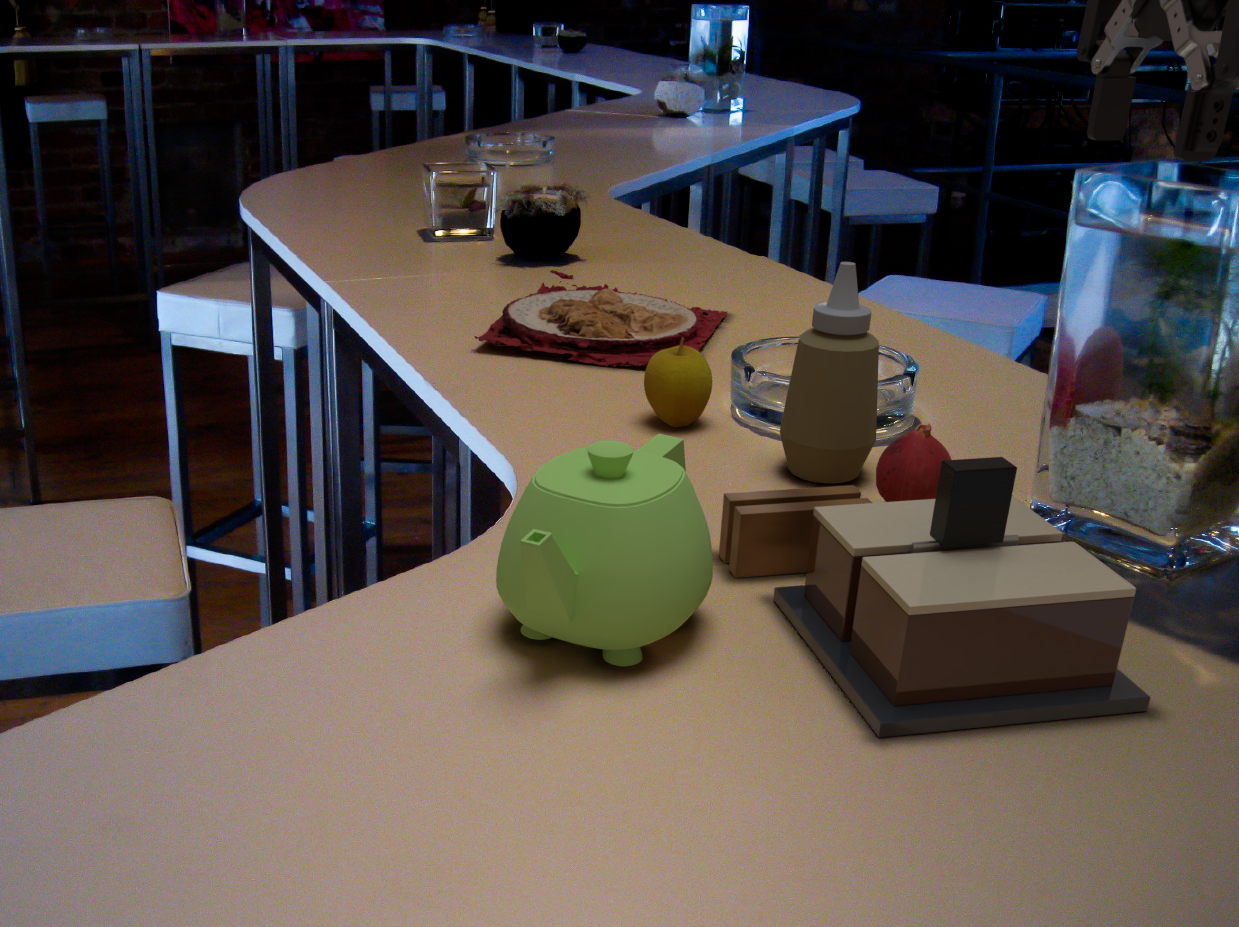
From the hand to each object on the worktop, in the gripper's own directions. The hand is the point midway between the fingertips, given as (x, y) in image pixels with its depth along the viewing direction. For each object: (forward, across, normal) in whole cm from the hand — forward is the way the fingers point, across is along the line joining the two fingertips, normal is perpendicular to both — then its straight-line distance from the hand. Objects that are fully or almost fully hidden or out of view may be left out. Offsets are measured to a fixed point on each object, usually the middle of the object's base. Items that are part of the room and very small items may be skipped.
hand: (1146, 149), depth 75 cm
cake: (+30, -6, +11) cm, 33 cm away
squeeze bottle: (+30, +24, +7) cm, 39 cm away
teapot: (+30, +1, +32) cm, 44 cm away
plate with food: (+30, +69, +15) cm, 77 cm away
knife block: (+30, +8, +16) cm, 35 cm away
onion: (+30, +14, +4) cm, 34 cm away
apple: (+30, +38, +16) cm, 51 cm away
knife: (+29, -6, +11) cm, 32 cm away
